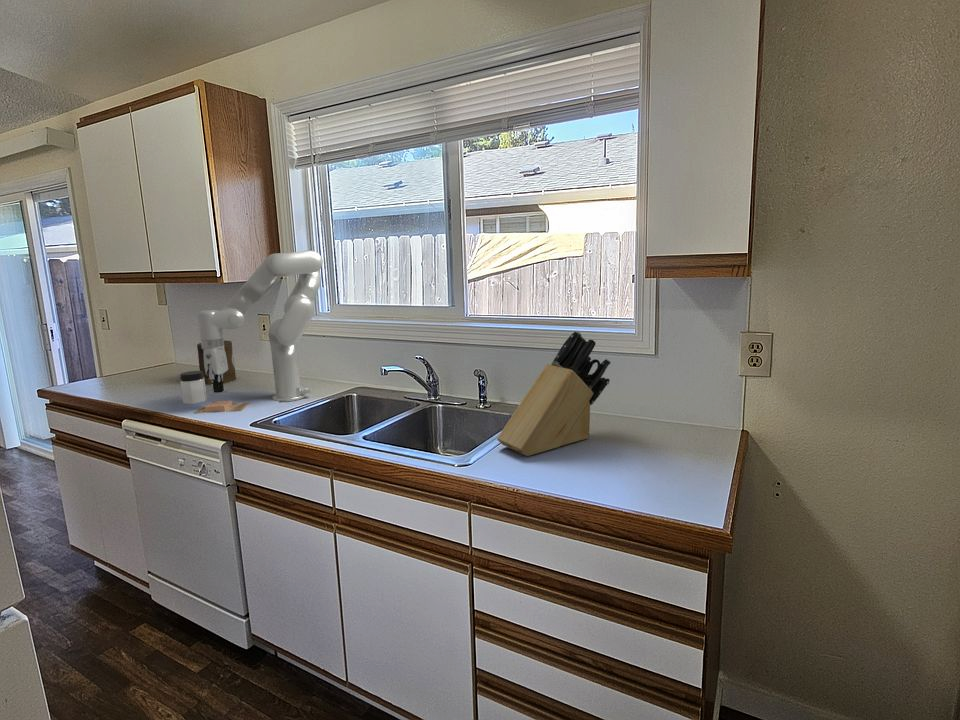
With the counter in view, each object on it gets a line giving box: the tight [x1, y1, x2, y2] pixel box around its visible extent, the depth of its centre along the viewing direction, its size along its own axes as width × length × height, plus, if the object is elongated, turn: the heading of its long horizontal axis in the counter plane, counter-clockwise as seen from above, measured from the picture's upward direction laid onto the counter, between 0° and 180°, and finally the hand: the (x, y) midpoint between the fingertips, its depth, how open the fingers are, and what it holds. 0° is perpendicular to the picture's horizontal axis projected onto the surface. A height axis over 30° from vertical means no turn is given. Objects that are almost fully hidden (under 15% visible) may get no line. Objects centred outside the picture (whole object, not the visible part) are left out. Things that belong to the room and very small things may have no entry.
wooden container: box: [196, 340, 237, 385], centre depth 256 cm, size 15×15×22 cm
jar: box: [179, 370, 208, 405], centre depth 219 cm, size 9×8×12 cm
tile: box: [204, 400, 233, 413], centre depth 206 cm, size 7×2×8 cm
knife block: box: [496, 330, 611, 457], centre depth 157 cm, size 11×35×31 cm, turn 125°
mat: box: [193, 402, 252, 414], centre depth 208 cm, size 17×12×1 cm
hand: (218, 391), depth 207 cm, fingers closed
